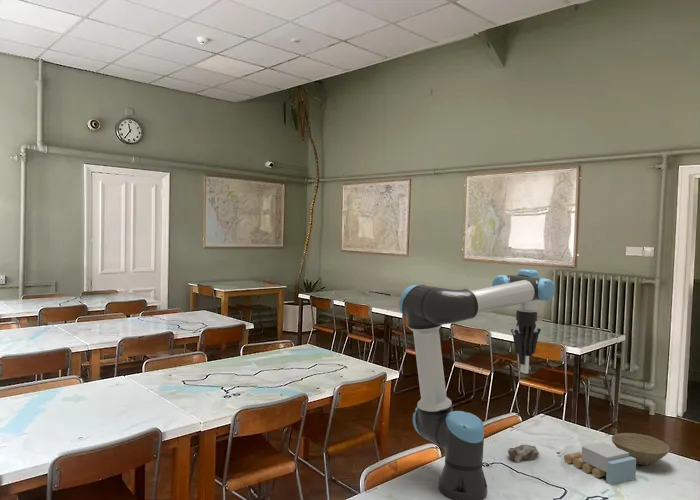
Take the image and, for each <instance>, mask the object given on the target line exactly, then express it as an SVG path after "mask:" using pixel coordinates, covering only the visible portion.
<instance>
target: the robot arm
mask: <svg viewBox="0 0 700 500" xmlns="http://www.w3.org/2000/svg"><path fill="white" fill-rule="evenodd" d="M555 293H556V285H555V283H554V282H553V280H551V279H549V278H544V277H539V271H538V270H536V269H518V271H517V274H516V275H515V274H498V275H496V276H495V277H494V278H493V280H492V284H491V286H488V287H483V288H478V289H472V290H471V289H469V288H462V289H451V288H444V287H437V286H432V285H431V286H430V285H425V284H413V285H409V286H408V287H405V288H404V290H403V292H402V293H401V295H400V297H399V301H398V308H399V311H400V313H401V314H402V315H403V316H404V317H405V318H406V320H407V328H408V329H409V330H410V331H412V332H413V334H412V335H413V341H414V351H415V358H416V368H417V375H418V376H417V377H418V384H419V392H420V393H419V394H420V400H418V401H417V406H416V407H415V409H414V410H415V412H413V414H412V423H413V427H414V429H415V431H416V432H417V433H418V435H420V437H422V438H423V439H425V440H426V441H429V442H431V443H433V444H434V445H436V446H438V447H440V448H442V449H444V453H445V454H444V465H443V467H442V470H441V474H440V476H439V477H438V490H439V492H440V493H441V494H442V495H444V496H445V497H447V498H449V499H452V500H484V499H485V498H487V496H488V484H487V480H486V477H485V474H484V473H485V472H484V469H483V463H484V462H483V459H484V445H485V432H484V431H485V429H484V427H485V426H484V422H483V421H482V420H481V419H480V418H479V417H478V416H477V415H475V414H473V413H470V412H466V411H463V410H453V403H452V402H453V401H452V400H451V399H450V398H449V397H448V396H447V391H446V381H445V379H446V378H445V373H444V364H443V356H442V355H443V354H442V353H443V352H442V345H441V336H440V329H441V327H442V326H444V325H449V324H454V323H460V322H463V321H468V320H471V319H472V320H473V319H475V318H476V317H477V315H479V314H483V313H487V312H491V311H495V310H499V309H500V310H501V309H504V308H508V307H511V306H516V309H517V310H515V311H516V312H515V319H516V321H517V323H516V325H515V326H516V327H514V328H511V330H510V332H511V333H512V337H513V345H514V346H513V347H514V351H515V354H517V355H518V356H519V364H520V373H522V374H529V368H530V363H531V357H533V355H534V354H535V352H536V349H537V345H538V344H537V343H538V340H539V335H540V333H541V331H542V329H541V328H539V327H537V324H536V322H537V321H538V312H537V311H538V309H539V308H538V305H539V304H538V303H539V301H541V302H543V301H545V302H547V301H551V300H552V299H553V298H554V296H555Z"/></svg>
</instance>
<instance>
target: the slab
mask: <svg viewBox="0 0 700 500" xmlns="http://www.w3.org/2000/svg"><path fill="white" fill-rule="evenodd" d="M581 452H582V461H584V462H586V463H588V464H590V465H592V466H594V467H596V468H598V469H601V470H603V471H605V472H606V471H607V462H608V461H613V460H617V459H621V458H626V457H629V453H628V452H626V451H624V450H621V449H619V448H617V447H616V446H615V445H614V446H613V445H611V444H609V443H607V442H603V441H602V442H598V443H597V442H596V443H592V444H587V445H583V446H581Z"/></svg>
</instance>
